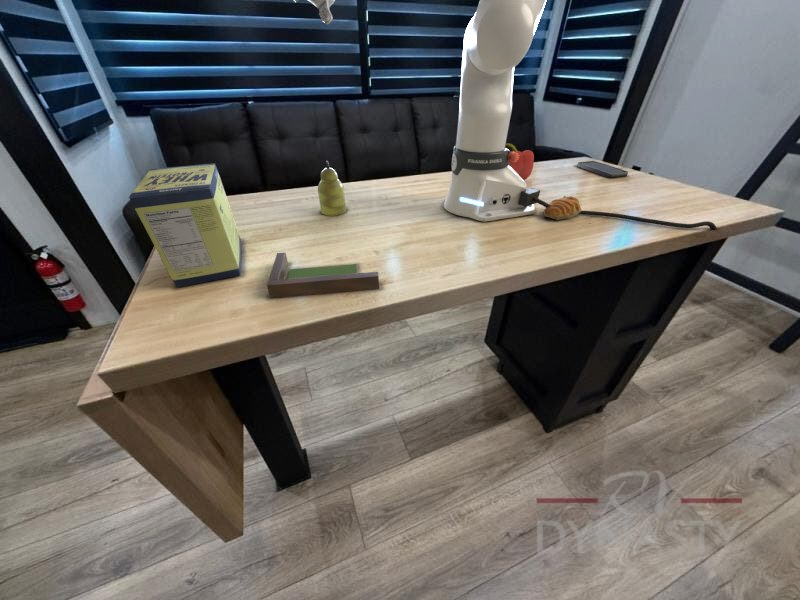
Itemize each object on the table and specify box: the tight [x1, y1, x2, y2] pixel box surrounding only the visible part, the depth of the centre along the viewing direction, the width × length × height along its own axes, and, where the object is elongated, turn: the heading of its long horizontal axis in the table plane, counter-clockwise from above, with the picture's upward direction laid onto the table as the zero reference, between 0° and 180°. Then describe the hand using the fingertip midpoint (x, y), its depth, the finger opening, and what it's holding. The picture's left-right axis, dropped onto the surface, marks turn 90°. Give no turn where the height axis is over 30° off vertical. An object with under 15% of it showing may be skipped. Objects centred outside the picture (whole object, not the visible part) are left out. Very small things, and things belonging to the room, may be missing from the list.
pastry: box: [543, 195, 582, 221], centre depth 77 cm, size 9×7×4 cm
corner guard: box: [266, 252, 380, 299], centre depth 55 cm, size 18×10×2 cm, turn 99°
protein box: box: [128, 162, 242, 288], centre depth 56 cm, size 10×16×16 cm
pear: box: [317, 160, 347, 217], centre depth 76 cm, size 6×6×12 cm
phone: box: [576, 160, 629, 179], centre depth 107 cm, size 8×1×15 cm
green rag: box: [286, 264, 358, 279], centre depth 56 cm, size 12×7×1 cm, turn 99°
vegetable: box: [505, 142, 535, 181], centre depth 97 cm, size 11×10×10 cm
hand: (313, 10), depth 58 cm, fingers open, 8 cm apart
